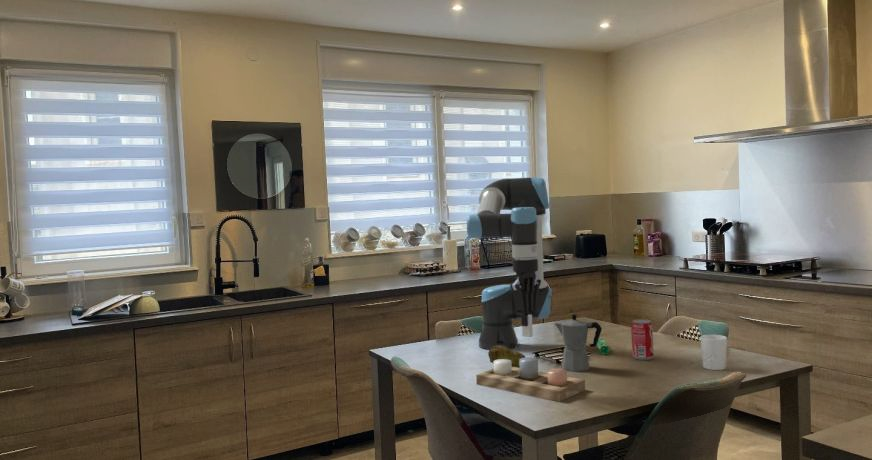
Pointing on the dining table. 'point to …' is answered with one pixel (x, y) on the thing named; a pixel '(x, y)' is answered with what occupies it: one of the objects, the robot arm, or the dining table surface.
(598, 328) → the coffeepot
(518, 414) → the dining table surface
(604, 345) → the candy
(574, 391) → the wooden egg rack
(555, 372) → the pink egg
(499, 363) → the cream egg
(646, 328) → the soda can
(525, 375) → the slate egg
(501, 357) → the potato
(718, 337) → the white cup
